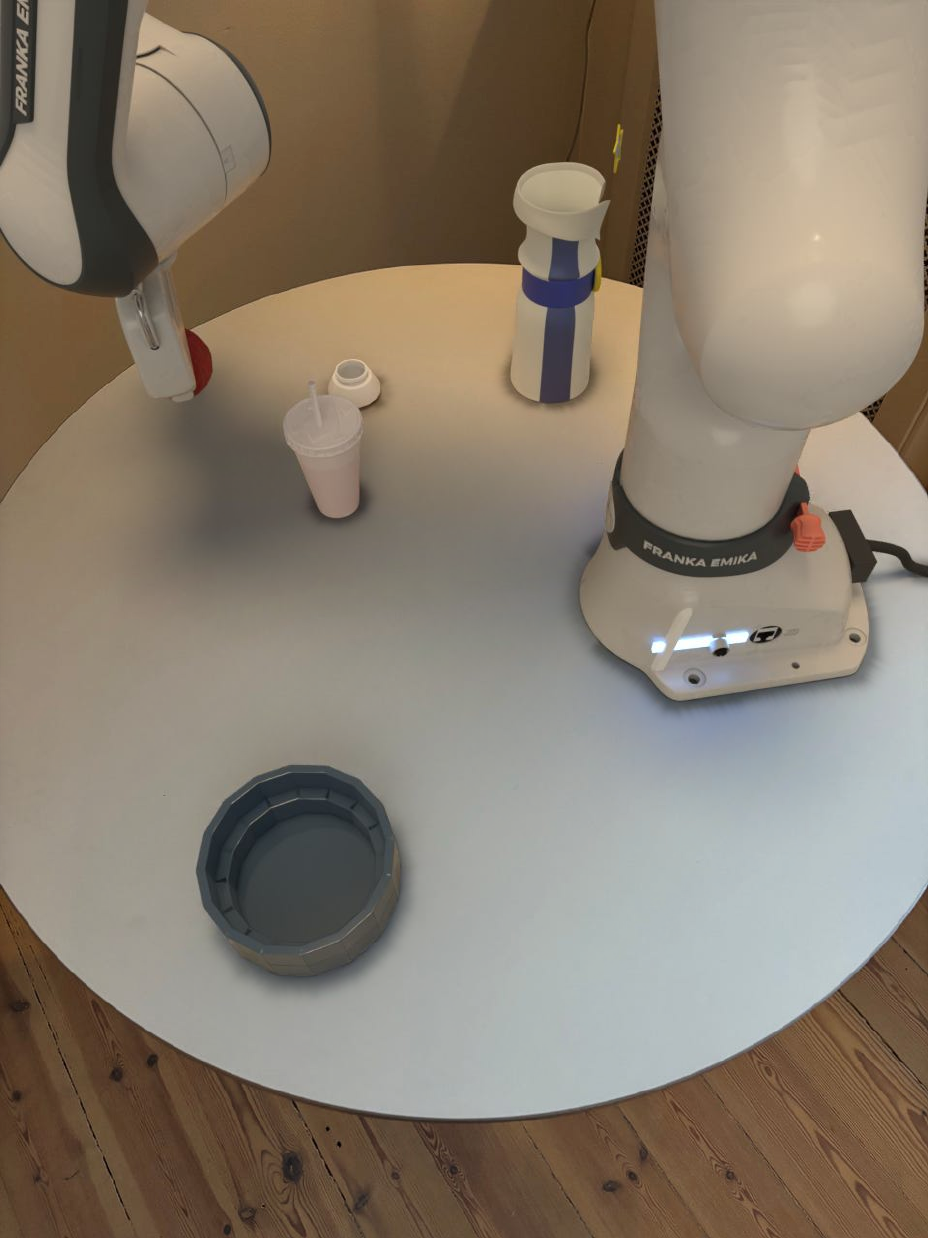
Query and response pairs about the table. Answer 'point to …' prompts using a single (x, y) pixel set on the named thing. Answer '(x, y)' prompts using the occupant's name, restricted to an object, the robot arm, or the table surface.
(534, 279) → the water bottle
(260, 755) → the table surface
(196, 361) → the red fruit
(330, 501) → the smoothie
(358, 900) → the bowl
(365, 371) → the lidless jar
